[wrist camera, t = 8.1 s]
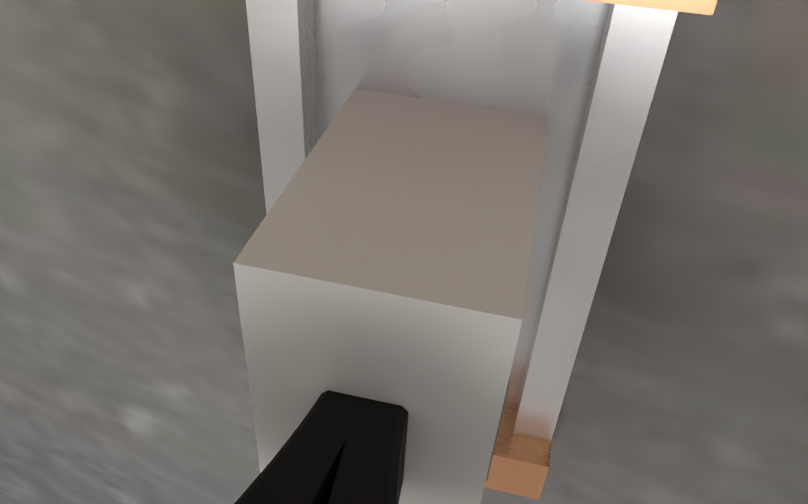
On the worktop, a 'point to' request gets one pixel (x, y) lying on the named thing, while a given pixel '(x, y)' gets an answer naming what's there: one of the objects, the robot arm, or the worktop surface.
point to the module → (398, 280)
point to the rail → (501, 90)
